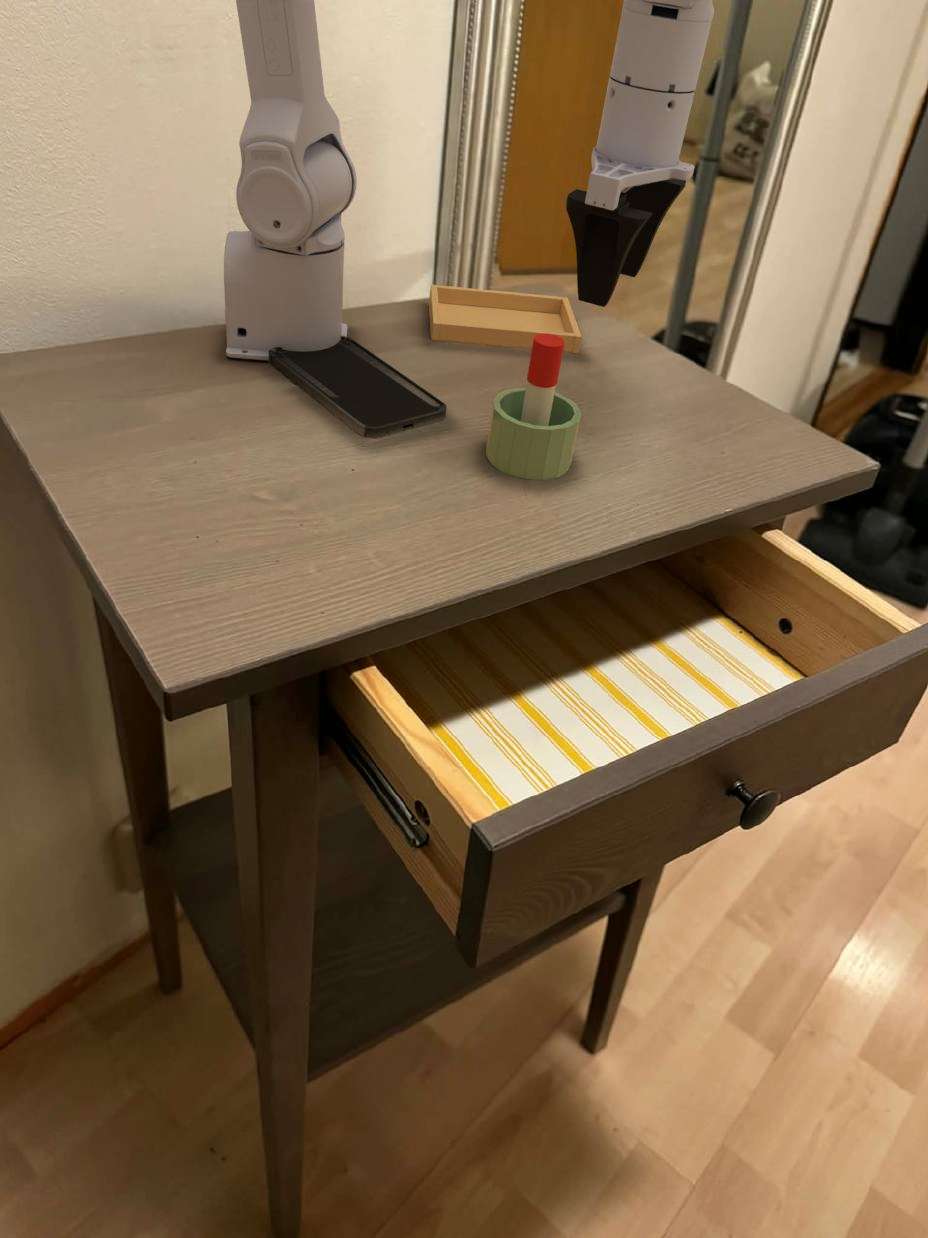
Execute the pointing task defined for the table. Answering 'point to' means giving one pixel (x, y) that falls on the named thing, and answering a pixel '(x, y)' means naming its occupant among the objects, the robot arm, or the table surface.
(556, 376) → the marker
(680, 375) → the table surface
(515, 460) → the pen cup
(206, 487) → the table surface
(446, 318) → the pen tray
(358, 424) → the phone
